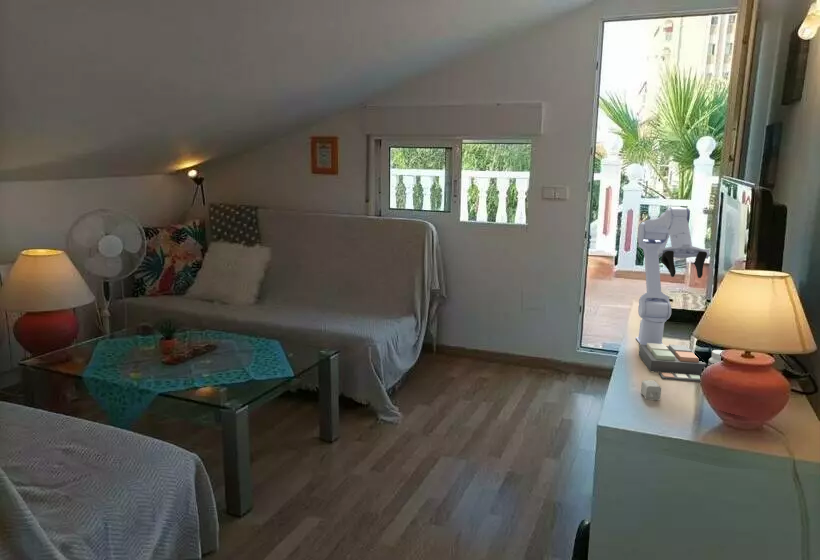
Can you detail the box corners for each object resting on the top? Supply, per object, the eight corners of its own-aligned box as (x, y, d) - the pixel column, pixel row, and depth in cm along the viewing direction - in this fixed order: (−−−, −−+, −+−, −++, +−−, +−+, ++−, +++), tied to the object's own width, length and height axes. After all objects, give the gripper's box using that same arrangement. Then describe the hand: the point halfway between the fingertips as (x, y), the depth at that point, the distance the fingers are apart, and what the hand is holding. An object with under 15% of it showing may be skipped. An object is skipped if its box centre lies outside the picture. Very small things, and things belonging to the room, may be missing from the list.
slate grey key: (668, 353, 202) (669, 344, 201) (685, 354, 201) (686, 345, 201) (672, 358, 197) (673, 349, 196) (690, 359, 196) (691, 350, 195)
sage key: (651, 358, 196) (652, 349, 195) (669, 359, 195) (670, 350, 195) (655, 364, 191) (656, 355, 190) (673, 365, 190) (675, 356, 189)
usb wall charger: (654, 394, 172) (656, 380, 171) (663, 404, 165) (665, 390, 164) (640, 393, 172) (642, 380, 171) (648, 403, 166) (649, 389, 165)
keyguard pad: (638, 354, 205) (639, 344, 204) (688, 358, 203) (690, 347, 202) (650, 371, 190) (651, 360, 189) (704, 375, 188) (706, 364, 187)
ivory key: (646, 351, 203) (647, 342, 202) (663, 352, 202) (664, 344, 201) (650, 357, 197) (651, 348, 197) (667, 358, 197) (668, 349, 196)
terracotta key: (674, 360, 195) (675, 351, 194) (692, 361, 194) (693, 352, 194) (679, 366, 190) (680, 356, 189) (697, 367, 189) (698, 358, 189)
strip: (662, 379, 183) (662, 376, 183) (658, 374, 187) (659, 371, 187) (704, 382, 182) (705, 379, 182) (700, 377, 186) (700, 374, 186)
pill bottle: (722, 381, 183) (727, 349, 181) (730, 388, 178) (735, 356, 176) (702, 380, 184) (707, 348, 182) (709, 387, 178) (714, 354, 176)
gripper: (659, 230, 188) (665, 266, 181) (709, 232, 186) (717, 269, 179) (653, 244, 194) (658, 280, 186) (702, 246, 192) (709, 282, 185)
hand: (686, 275), depth 183 cm, fingers open, 7 cm apart
